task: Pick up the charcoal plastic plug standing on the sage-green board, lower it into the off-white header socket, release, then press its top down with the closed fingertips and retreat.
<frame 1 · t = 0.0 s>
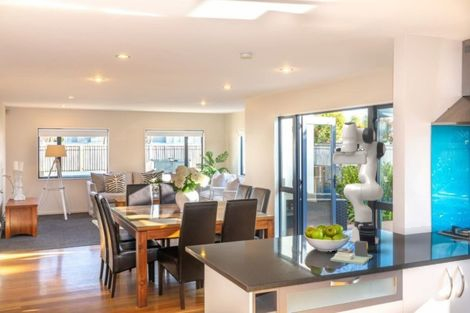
hand: (349, 172, 264), 48 cm above the counter, fingers open, 8 cm apart
storage jar: (367, 251, 264), on the counter
board: (351, 258, 246), on the counter
plug: (361, 255, 248), point 1 cm above the counter, touching board
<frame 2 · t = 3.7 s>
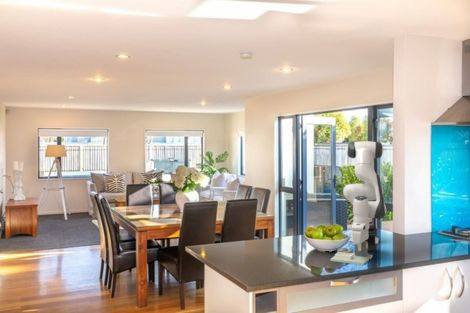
hand: (361, 249, 248), 5 cm above the counter, fingers closed on plug, 4 cm apart
plug: (361, 255, 248), point 1 cm above the counter, touching board, gripper
everything else where it was.
when the fingers open (5 cm above the counter, at t = 8.2 s): plug stays where it is, resting on board.
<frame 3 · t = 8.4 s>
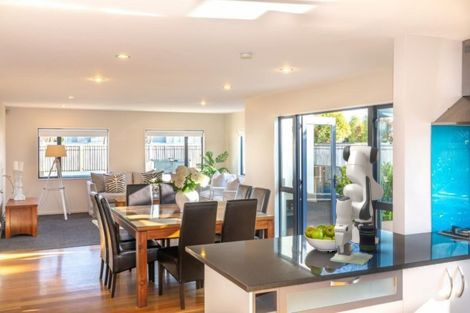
hand: (344, 251, 244), 5 cm above the counter, fingers open, 6 cm apart
plug: (344, 257, 244), point 1 cm above the counter, touching board
everything else where it was.
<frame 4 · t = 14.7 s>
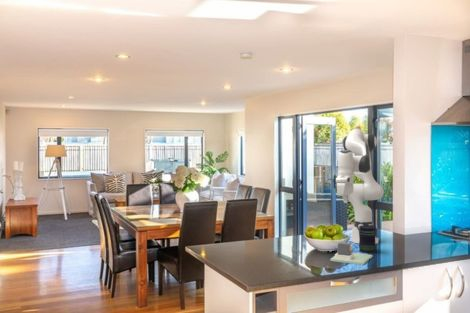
hand: (345, 202, 250), 31 cm above the counter, fingers closed
nothing on the counter moved.
at the end: plug 0.1 cm from the target spot on the board, point 1.2 cm above the board's base; plug tilted 0°; the gripper is holding nothing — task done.
